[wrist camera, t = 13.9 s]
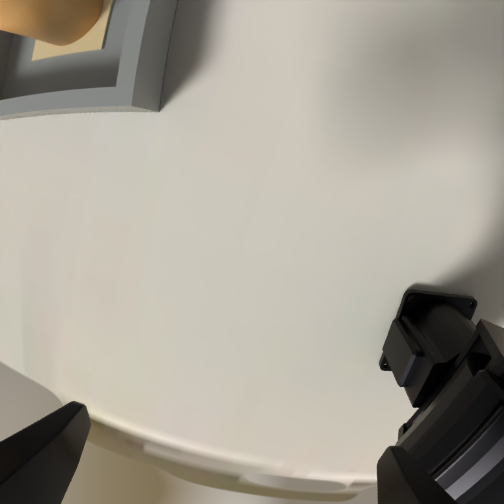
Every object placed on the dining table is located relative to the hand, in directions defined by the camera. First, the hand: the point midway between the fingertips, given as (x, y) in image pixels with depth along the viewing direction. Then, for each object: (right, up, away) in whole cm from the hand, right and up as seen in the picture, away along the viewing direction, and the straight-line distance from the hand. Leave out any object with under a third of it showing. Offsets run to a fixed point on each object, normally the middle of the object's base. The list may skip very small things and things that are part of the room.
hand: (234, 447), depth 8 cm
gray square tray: (-11, +21, +7) cm, 25 cm away
